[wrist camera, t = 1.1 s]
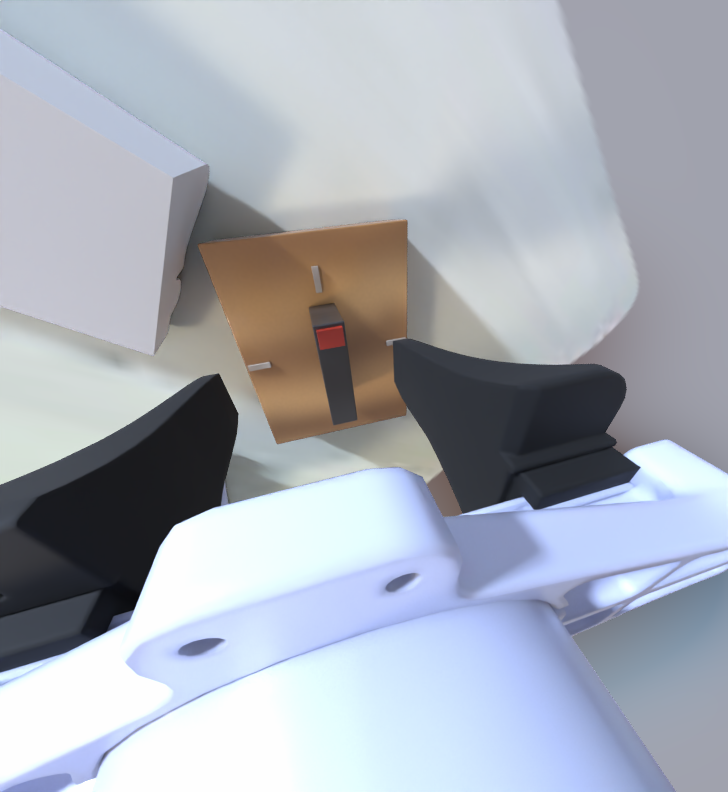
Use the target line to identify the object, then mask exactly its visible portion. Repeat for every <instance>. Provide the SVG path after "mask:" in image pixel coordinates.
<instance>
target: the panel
mask: <svg viewBox="0 0 728 792" xmlns="http://www.w3.org/2000/svg"><path fill="white" fill-rule="evenodd" d="M198 248H199V250H200V253H201V255H202V258H203V260H204V263H205V265H206V268H207V270H208V273H209V275H210V278H211V280H212V283H213V285H214V288H215V290H216V293H217V295H218V298H219V300H220V303H221V305H222V308H223V310H224V313H225V315H226V318H227V320H228V323H229V325H230V328H231V330H232V333H233V335H234V338H235V340H236V343H237V346H238V348H239V351H240V353H241V356H242V358H243V361H244V363H245V366H246V368H247V371H248V373H249V376H250V378H251V381H252V383H253V386H254V388H255V391H256V393H257V396H258V398H259V401H260V403H261V406H262V408H263V411H264V413H265V416H266V418H267V421H268V423H269V426H270V428H271V431H272V433H273V436H274V438H275V441H276V443H277V444H281V443H285V442H289V441H294V440H298V439H303V438H307V437H312V436H316V435H320V434H325V433H329V432H334V431H338V430H343V429H347V428H352V427H356V426H360V425H365V424H369V423H374V422H378V421H383V420H387V419H392V418H396V417H400V416H405V415H406V404H405V402H404V401H403V399H402V398H401V396H400V393H399V391H398V389H397V387H396V385H395V382H394V364H393V341H395V340H401V339H407V220H383V221H375V222H366V223H358V224H349V225H340V226H332V227H323V228H314V229H306V230H297V231H288V232H280V233H271V234H263V235H254V236H245V237H237V238H228V239H219V240H212V241H208V242H204V243H200V244H198ZM330 303H335V305H336V307H337V309H338V311H339V313H340V315H341V317H342V318H343V320H344V323H345V330H346V338H347V345H348V352H349V360H350V367H351V374H352V382H353V389H354V396H355V404H356V411H357V418H358V419H357V420H356V421H352V422H347V423H343V424H338V425H333V423H332V418H331V413H330V408H329V404H328V399H327V394H326V389H325V385H324V380H323V375H322V370H321V366H320V361H319V356H318V351H317V347H316V342H315V337H314V332H313V328H312V323H311V318H310V313H309V307H311V306H317V305H324V304H330Z"/></svg>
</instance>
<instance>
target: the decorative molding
mask: <svg viewBox="0 0 728 792" xmlns="http://www.w3.org/2000/svg"><path fill="white" fill-rule="evenodd" d="M208 179H209V166H208V164H206V163H204V162H203V161H201V160H200V159H198V158H197V157H195V156H194V155H192V154H191V153H189V152H188V151H186V150H185V149H183V148H182V147H180V146H179V145H177V144H176V143H174V142H172V141H171V140H169V139H168V138H166V137H165V136H163V135H162V134H160V133H159V132H157V131H156V130H154V129H153V128H151V127H150V126H148V125H147V124H145V123H144V122H142V121H140V120H139V119H137V118H136V117H134V116H133V115H131V114H130V113H128V112H127V111H125V110H124V109H122V108H121V107H119V106H118V105H116V104H115V103H113V102H112V101H110V100H108V99H107V98H105V97H104V96H102V95H101V94H99V93H98V92H96V91H95V90H93V89H92V88H90V87H89V86H87V85H86V84H84V83H83V82H81V81H80V80H78V79H76V78H75V77H73V76H72V75H70V74H69V73H67V72H66V71H64V70H63V69H61V68H60V67H58V66H57V65H55V64H54V63H52V62H51V61H49V60H48V59H46V58H44V57H43V56H41V55H40V54H38V53H37V52H35V51H34V50H32V49H31V48H29V47H28V46H26V45H25V44H23V43H22V42H20V41H19V40H17V39H15V38H14V37H12V36H11V35H9V34H8V33H6V32H5V31H3V30H2V29H0V307H3V308H6V309H9V310H12V311H16V312H19V313H22V314H25V315H28V316H31V317H34V318H37V319H40V320H43V321H46V322H49V323H52V324H56V325H59V326H62V327H65V328H68V329H71V330H74V331H77V332H80V333H83V334H86V335H89V336H92V337H95V338H99V339H102V340H105V341H108V342H111V343H114V344H117V345H120V346H123V347H126V348H129V349H132V350H135V351H139V352H142V353H145V354H148V355H151V356H154V355H155V353H156V352H157V350H158V348H159V347H160V345H161V344H162V342H163V340H164V339H165V337H166V335H167V334H168V330H169V323H170V317H171V314H172V312H173V310H174V308H175V306H176V304H177V301H178V299H179V295H180V291H181V281H180V280H179V279H178V278H177V276H178V275H179V273H180V272H181V271H182V269H183V268H184V260H185V253H186V250H187V246H188V242H189V239H190V236H191V233H192V230H193V227H194V224H195V221H196V219H197V216H198V213H199V210H200V207H201V204H202V201H203V199H204V195H205V192H206V188H207V185H208Z"/></svg>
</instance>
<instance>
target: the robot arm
mask: <svg viewBox="0 0 728 792" xmlns="http://www.w3.org/2000/svg"><path fill="white" fill-rule="evenodd" d="M393 364H394V382H395V385H396V387H397V389H398V391H399V393H400V396H401V398H402V399H403V401H404V402H405V404H406V406H407V407H408V409H409V410H410V412H411V413H412V415H413V416H414V418H415V419H416V421H417V422H418V424H419V425H420V427H421V428H422V430H423V431H424V433H425V434H426V436H427V438H428V439H429V441H430V443H431V445H432V447H433V449H434V451H435V453H436V455H437V457H438V459H439V461H440V463H441V466H442V468H443V470H444V472H445V474H446V476H447V478H448V480H449V483H450V485H451V487H452V490H453V492H454V494H455V496H456V499H457V501H458V503H459V506H460V508H461V511H462V513H463V514H461V515H458V516H449V517H443V516H442V514H441V512H440V510H439V508H438V506H437V504H436V502H435V500H434V498H433V497H432V495H431V493H430V491H429V489H428V487H427V485H426V483H425V481H424V479H423V477H421V476H419V475H417V474H414V473H412V472H410V471H407V470H405V469H403V468H400V467H389V468H375V469H365V470H361V471H357V472H353V473H349V474H345V475H341V476H337V477H333V478H329V479H325V480H322V481H318V482H314V483H310V484H306V485H302V486H298V487H294V488H290V489H286V490H282V491H278V492H274V493H270V494H266V495H262V496H258V497H254V498H250V499H246V500H242V501H239V502H235V503H231V504H229V503H228V497H227V491H226V485H225V479H226V475H227V471H228V467H229V463H230V459H231V456H232V452H233V448H234V444H235V440H236V435H237V427H238V412H237V410H236V408H235V406H234V404H233V402H232V400H231V397H230V395H229V393H228V391H227V389H226V387H225V385H224V383H223V381H222V379H221V377H220V375H219V374H214V375H208V376H203V377H201V378H199V379H197V380H195V381H193V382H192V383H190V384H189V385H187V386H186V387H184V388H183V389H181V390H180V391H179V392H177V393H176V394H174V395H173V396H171V397H170V398H169V399H167V400H166V401H164V402H163V403H161V404H160V405H158V406H157V407H155V408H154V409H152V410H151V411H149V412H148V413H146V414H145V415H143V416H142V417H140V418H139V419H137V420H135V421H134V422H132V423H130V424H129V425H127V426H125V427H124V428H122V429H120V430H118V431H117V432H115V433H113V434H111V435H109V436H107V437H106V438H104V439H102V440H100V441H98V442H96V443H94V444H92V445H90V446H88V447H86V448H84V449H82V450H80V451H78V452H75V453H73V454H71V455H69V456H67V457H65V458H63V459H61V460H59V461H57V462H54V463H52V464H50V465H47V466H45V467H43V468H40V469H38V470H36V471H33V472H31V473H29V474H26V475H24V476H21V477H19V478H16V479H14V480H11V481H9V482H7V483H4V484H1V485H0V792H676V791H675V789H674V788H673V786H672V785H671V783H670V782H669V780H668V779H667V777H666V776H665V775H664V773H663V772H662V770H661V769H660V767H659V766H658V764H657V763H656V761H655V760H654V758H653V757H652V755H651V754H650V752H649V751H648V749H647V748H646V747H645V745H644V743H643V742H642V740H641V739H640V737H639V736H638V735H637V733H636V732H635V730H634V729H633V727H632V726H631V724H630V723H629V721H628V720H627V718H626V717H625V715H624V714H623V712H622V711H621V709H620V708H619V706H618V705H617V704H616V702H615V700H614V699H613V697H612V696H611V695H610V693H609V692H608V690H607V689H606V687H605V686H604V684H603V683H602V681H601V680H600V678H599V677H598V675H597V674H596V672H595V671H594V669H593V668H592V666H591V665H590V663H589V662H588V661H587V659H586V657H585V656H584V655H583V653H582V652H581V650H580V649H579V647H578V646H577V644H576V643H575V641H574V640H573V638H572V637H571V636H573V635H576V634H578V633H580V632H582V631H585V630H587V629H589V628H592V627H594V626H596V625H599V624H601V623H603V622H605V621H608V620H610V619H612V618H614V617H617V616H619V615H621V614H624V613H626V612H628V611H631V610H633V609H635V608H637V607H640V606H642V605H644V604H647V603H649V602H652V601H654V600H656V599H659V598H661V597H663V596H666V595H668V594H671V593H673V592H676V591H678V590H680V589H683V588H685V587H687V586H690V585H693V584H695V583H697V582H700V581H703V580H705V579H708V578H710V577H713V576H716V575H718V574H721V573H723V572H724V571H726V570H728V474H727V473H725V472H724V471H722V470H720V469H719V468H717V467H715V466H713V465H711V464H710V463H708V462H706V461H705V460H703V459H701V458H699V457H698V456H696V455H694V454H693V453H691V452H689V451H687V450H685V449H684V448H682V447H680V446H679V445H677V444H675V443H674V442H672V441H670V440H661V441H657V442H653V443H650V444H646V445H643V446H639V447H636V448H633V449H631V450H629V451H628V452H626V453H625V454H624V455H622V454H621V453H620V452H618V451H617V450H615V449H614V448H613V447H612V446H615V444H616V443H617V442H616V439H614V438H613V437H611V436H610V435H608V434H607V433H605V432H606V430H607V429H608V427H609V425H610V424H611V422H612V420H613V419H614V417H615V415H616V414H617V412H618V410H619V409H620V407H621V404H622V403H623V401H624V398H625V394H626V383H625V379H624V378H623V377H622V376H621V375H620V374H618V373H616V372H614V371H612V370H610V369H608V368H606V367H603V366H601V365H597V364H575V365H574V364H573V365H536V364H518V363H508V362H498V361H491V360H485V359H479V358H474V357H469V356H465V355H461V354H457V353H453V352H450V351H446V350H443V349H440V348H437V347H434V346H431V345H428V344H425V343H422V342H419V341H415V340H412V339H401V340H395V341H393Z"/></svg>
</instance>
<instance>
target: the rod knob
mask: <svg viewBox="0 0 728 792" xmlns="http://www.w3.org/2000/svg"><path fill="white" fill-rule="evenodd" d="M309 313H310V318H311V323H312V328H313V332H314V337H315V342H316V347H317V351H318V356H319V361H320V366H321V370H322V375H323V380H324V385H325V389H326V394H327V399H328V404H329V408H330V413H331V418H332V423H333V425H338V424H343V423H347V422H352V421H356V420H357V419H358V418H357V411H356V404H355V396H354V389H353V382H352V374H351V367H350V360H349V352H348V345H347V338H346V330H345V323H344V320H343V318H342V317H341V315H340V313H339V311H338V309H337V307H336V305H335V303H330V304H324V305H317V306H311V307H309Z"/></svg>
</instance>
